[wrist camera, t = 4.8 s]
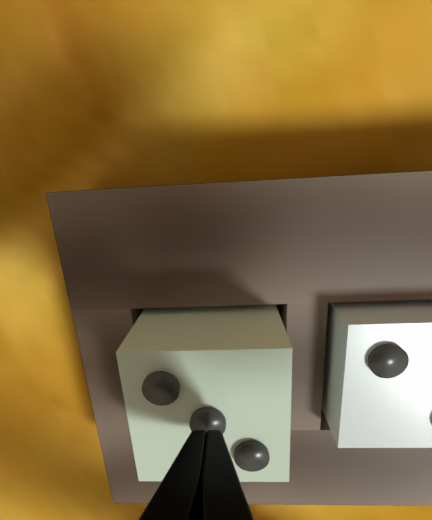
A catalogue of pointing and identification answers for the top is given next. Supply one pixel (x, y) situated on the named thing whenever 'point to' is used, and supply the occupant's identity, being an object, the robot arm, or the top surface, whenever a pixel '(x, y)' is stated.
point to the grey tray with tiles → (251, 301)
